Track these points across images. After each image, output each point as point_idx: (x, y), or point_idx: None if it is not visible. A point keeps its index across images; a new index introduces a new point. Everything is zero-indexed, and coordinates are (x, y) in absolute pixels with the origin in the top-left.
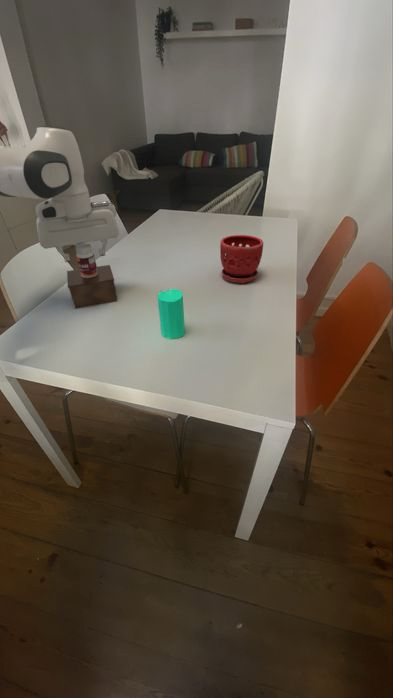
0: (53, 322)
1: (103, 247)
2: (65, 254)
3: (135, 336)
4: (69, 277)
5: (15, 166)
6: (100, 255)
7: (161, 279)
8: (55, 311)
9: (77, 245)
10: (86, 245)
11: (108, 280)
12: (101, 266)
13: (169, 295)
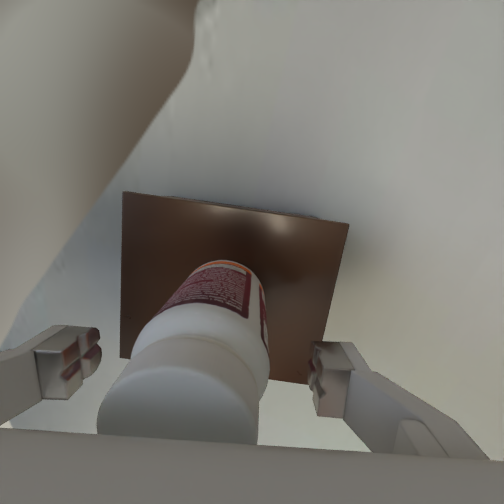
0: (104, 348)
1: (366, 442)
2: (36, 370)
3: None
4: (130, 278)
5: None
6: (309, 381)
7: (496, 250)
8: (109, 294)
9: (120, 400)
10: (215, 438)
11: (287, 380)
12: (303, 224)
13: None
